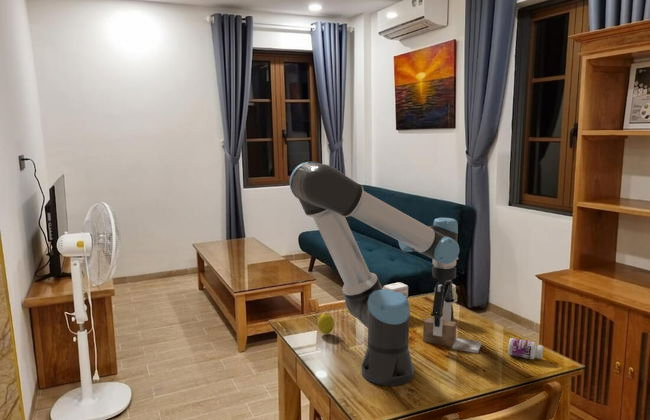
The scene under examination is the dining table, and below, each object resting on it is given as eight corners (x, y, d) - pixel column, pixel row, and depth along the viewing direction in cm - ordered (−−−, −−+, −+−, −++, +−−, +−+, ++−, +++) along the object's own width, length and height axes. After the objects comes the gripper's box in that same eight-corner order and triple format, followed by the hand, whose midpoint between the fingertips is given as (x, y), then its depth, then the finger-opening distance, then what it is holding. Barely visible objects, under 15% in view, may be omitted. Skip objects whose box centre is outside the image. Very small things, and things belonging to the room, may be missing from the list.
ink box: (391, 319, 185) (391, 289, 183) (382, 315, 189) (382, 285, 188) (408, 314, 190) (408, 285, 188) (399, 310, 194) (399, 281, 192)
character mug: (427, 316, 188) (428, 283, 186) (441, 312, 192) (442, 280, 190) (448, 325, 179) (450, 291, 177) (462, 321, 183) (464, 287, 181)
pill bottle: (509, 334, 155) (543, 340, 151) (511, 341, 159) (543, 347, 155) (507, 351, 153) (541, 357, 148) (508, 357, 157) (541, 363, 152)
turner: (421, 343, 165) (422, 323, 164) (426, 335, 171) (427, 315, 170) (478, 353, 157) (479, 332, 156) (481, 344, 163) (482, 324, 162)
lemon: (334, 331, 174) (334, 310, 173) (333, 338, 169) (333, 316, 167) (318, 331, 175) (318, 309, 173) (316, 337, 169) (316, 315, 168)
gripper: (447, 277, 148) (445, 344, 152) (463, 257, 171) (460, 316, 174) (423, 274, 152) (421, 340, 155) (441, 255, 174) (439, 313, 177)
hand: (442, 327), depth 165 cm, fingers open, 13 cm apart
